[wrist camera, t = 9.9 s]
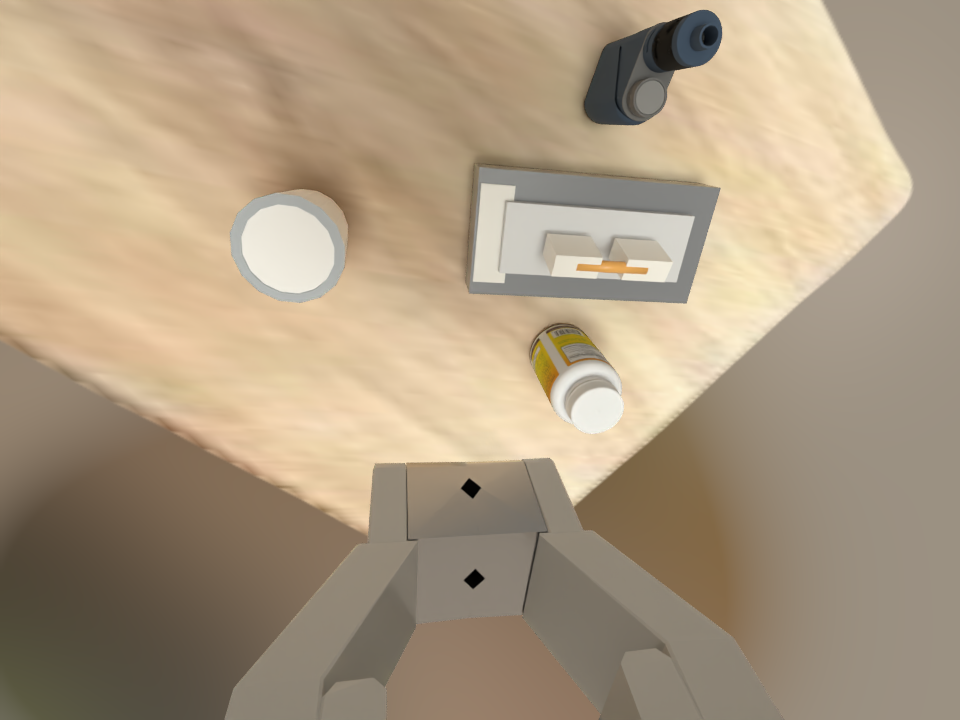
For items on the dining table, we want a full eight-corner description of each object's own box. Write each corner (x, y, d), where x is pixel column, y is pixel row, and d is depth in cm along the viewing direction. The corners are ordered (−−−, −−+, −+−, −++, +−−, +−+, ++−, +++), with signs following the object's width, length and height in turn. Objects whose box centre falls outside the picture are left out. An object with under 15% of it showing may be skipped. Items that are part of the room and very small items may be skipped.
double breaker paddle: (547, 233, 33) (556, 255, 31) (656, 240, 34) (673, 262, 32) (542, 254, 34) (551, 277, 32) (649, 260, 35) (665, 283, 33)
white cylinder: (348, 176, 34) (334, 189, 28) (363, 269, 38) (353, 299, 31) (250, 182, 34) (214, 196, 28) (273, 276, 37) (245, 308, 31)
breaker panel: (474, 163, 35) (481, 168, 32) (699, 183, 38) (728, 189, 34) (465, 281, 39) (470, 297, 35) (669, 291, 42) (692, 307, 38)
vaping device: (639, 49, 33) (746, 15, 22) (607, 128, 35) (692, 133, 25) (606, 34, 32) (700, -7, 22) (576, 117, 34) (649, 116, 24)
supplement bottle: (550, 387, 45) (584, 456, 36) (516, 347, 42) (544, 409, 33) (599, 353, 44) (648, 414, 35) (568, 309, 41) (611, 363, 32)
